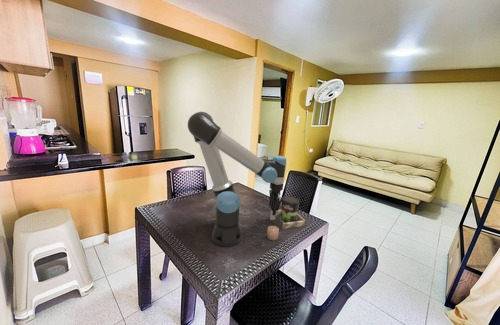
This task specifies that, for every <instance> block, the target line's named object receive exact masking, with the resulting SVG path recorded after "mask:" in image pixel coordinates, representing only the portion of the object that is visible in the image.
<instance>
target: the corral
mask: <svg viewBox="0 0 500 325" xmlns="http://www.w3.org/2000/svg"><path fill="white" fill-rule="evenodd" d="M280 214H281V209H279V210H278V211H276V215H275V216H280ZM306 226H307V220H306V219H305V218H304V217H303V216H302V215H300V213H298V212H297V219H296V221H295V222H287V223H283V222H282V226H281V228H282V230H284V229H285V230H286V229H292V228H297V227H306Z"/></svg>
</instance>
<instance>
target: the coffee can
mask: <svg viewBox="0 0 500 325" xmlns="http://www.w3.org/2000/svg"><path fill="white" fill-rule="evenodd" d="M281 198H282V200H281V206H280V207H281V208H280V210H281V214H280V215H279V221H280V222H281V223H282V224H283V223H287V222H295V221H297V220H298V219H297V213H298V212H299V205H300V199H299V198H297V197H296V196H290V195H286V196H285V195H284V196H282V197H281Z"/></svg>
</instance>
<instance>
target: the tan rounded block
mask: <svg viewBox="0 0 500 325" xmlns="http://www.w3.org/2000/svg"><path fill="white" fill-rule="evenodd" d="M266 230H267V231H266V238H267V239H268V240H270V241H277V240H278V239H279V232H280V228H279V227H277V226H275V225H269V226H267V229H266Z"/></svg>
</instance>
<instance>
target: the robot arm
mask: <svg viewBox="0 0 500 325" xmlns="http://www.w3.org/2000/svg"><path fill="white" fill-rule="evenodd" d="M187 129H188V131H189V133H190V134H191V135H192V137H193V139H194V142H195V143H196V144H198V145H199V148H200V150H201V154H202V155H203V159H204V161H205V165H206V166H207V171H208V173H209V176H210V180H211V181H212V186H211V190H212V194H213V196H214V199H215V224H214V227H213V229H212V233H211V240H212V242H213V243H214V244H216V245H217V246H220V247H232V246H235V245H237V244H239V243H240V242H241V238H242V233H241V228H240V225H239V222H240V221H239V218H240V205H241V200H240V197H239V194H237V193H236V189H235V186H234V184H233V181H232V180H229V177H228V174H227V172H226V169H225V165H224V161H223V158H222V156H221V153H220V152H222V153H224V154H225V155H227V156H229V157H230V158H231V159H233V160H234V161H236V162H238V164H240V165H242V166H244V167H245V168H246V169H248V170H250V171H251V172H252V173H254V174H255V175H257V176H258V177H260V178H261V179H262V181H264V182H265V183H266V184H267V183H268V184H270V185H269V188H270V189H269V190H268V191H269V201H268V202H269V207H270V213H269V220H270V221H274V220H276V216H277V215H276V211H278V210H280V207H281V206H280V205H281V204H282V198H283V197H281V191H282V190H283V188H284V181H285V174H286V167H287V157H285V156H283V155H274V156H273V158H272V159H267V158H266V159H265V158H264V159H263V158H260V157H259V156H257V155H256V154H254V153H253V152H252V151H250V150H249V149H248V148H246V147H245V146H243V145H242V144H241V143H239V142H238V141H236V140H235V139H234V138H232V137H230V136H229V135H228V134H226V133H225V132H224V131H223V130H222V127H220V125H218V124H217V123H216V122H214V119H213V117H212V116H211V115H210V114H209V113H207V112H206V111H197V112H195V113H193V114H192V115H191V116H190V117H189V119H188V121H187Z"/></svg>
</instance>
